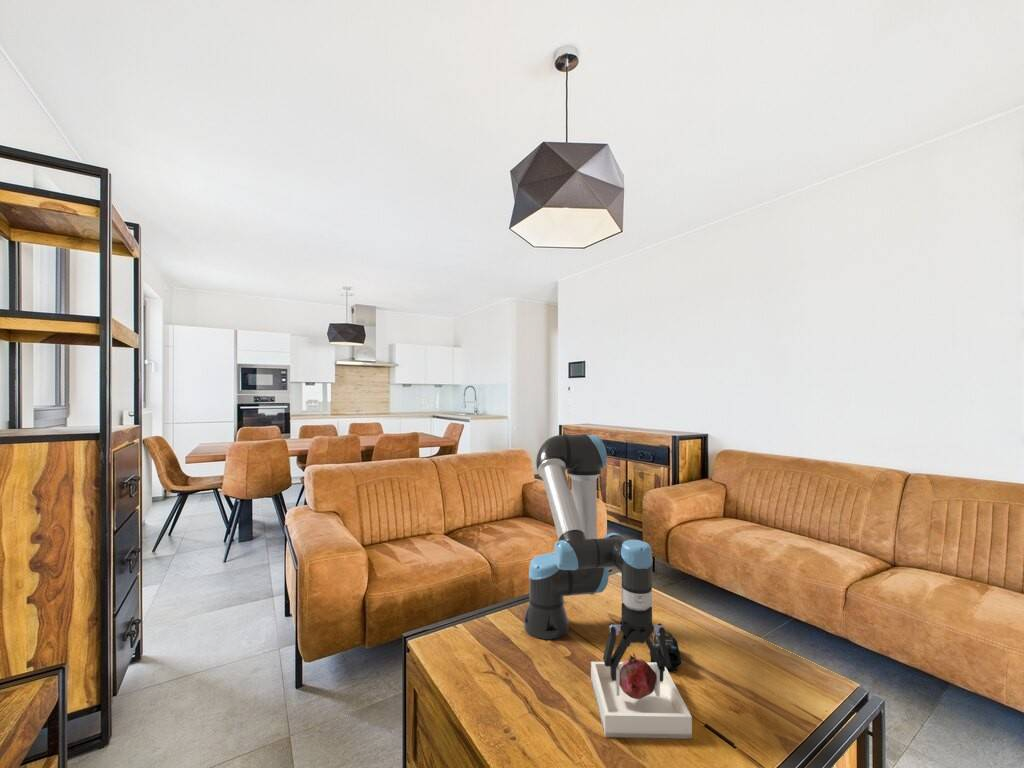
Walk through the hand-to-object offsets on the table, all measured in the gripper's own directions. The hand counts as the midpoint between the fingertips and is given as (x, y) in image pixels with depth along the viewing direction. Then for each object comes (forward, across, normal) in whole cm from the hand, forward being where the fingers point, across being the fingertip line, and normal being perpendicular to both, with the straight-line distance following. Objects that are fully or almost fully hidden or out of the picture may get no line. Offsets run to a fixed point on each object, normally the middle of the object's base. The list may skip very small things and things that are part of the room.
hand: (636, 692), depth 111 cm
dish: (+3, 0, 0) cm, 3 cm away
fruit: (0, 0, 0) cm, 0 cm away
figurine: (+4, +14, +20) cm, 24 cm away
